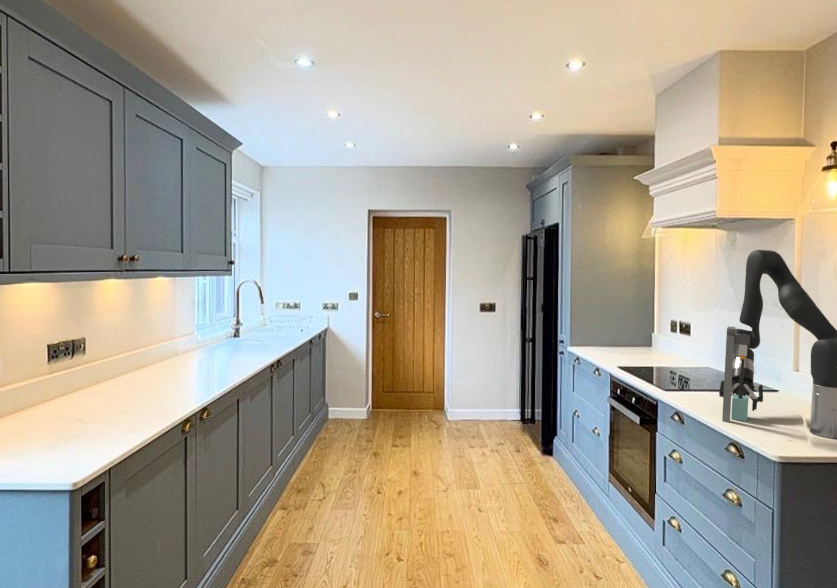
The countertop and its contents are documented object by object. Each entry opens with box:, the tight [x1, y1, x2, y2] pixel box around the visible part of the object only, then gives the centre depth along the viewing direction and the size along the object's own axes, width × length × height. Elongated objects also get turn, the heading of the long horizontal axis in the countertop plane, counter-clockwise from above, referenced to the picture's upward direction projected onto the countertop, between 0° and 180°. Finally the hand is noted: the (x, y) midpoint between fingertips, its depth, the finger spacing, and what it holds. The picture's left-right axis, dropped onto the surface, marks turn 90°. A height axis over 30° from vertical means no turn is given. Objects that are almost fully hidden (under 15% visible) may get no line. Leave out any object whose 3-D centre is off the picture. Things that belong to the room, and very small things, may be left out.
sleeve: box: [730, 394, 749, 422], centre depth 209 cm, size 7×5×8 cm
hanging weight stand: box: [721, 326, 750, 423], centre depth 206 cm, size 8×7×35 cm
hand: (739, 407), depth 209 cm, fingers open, 8 cm apart
